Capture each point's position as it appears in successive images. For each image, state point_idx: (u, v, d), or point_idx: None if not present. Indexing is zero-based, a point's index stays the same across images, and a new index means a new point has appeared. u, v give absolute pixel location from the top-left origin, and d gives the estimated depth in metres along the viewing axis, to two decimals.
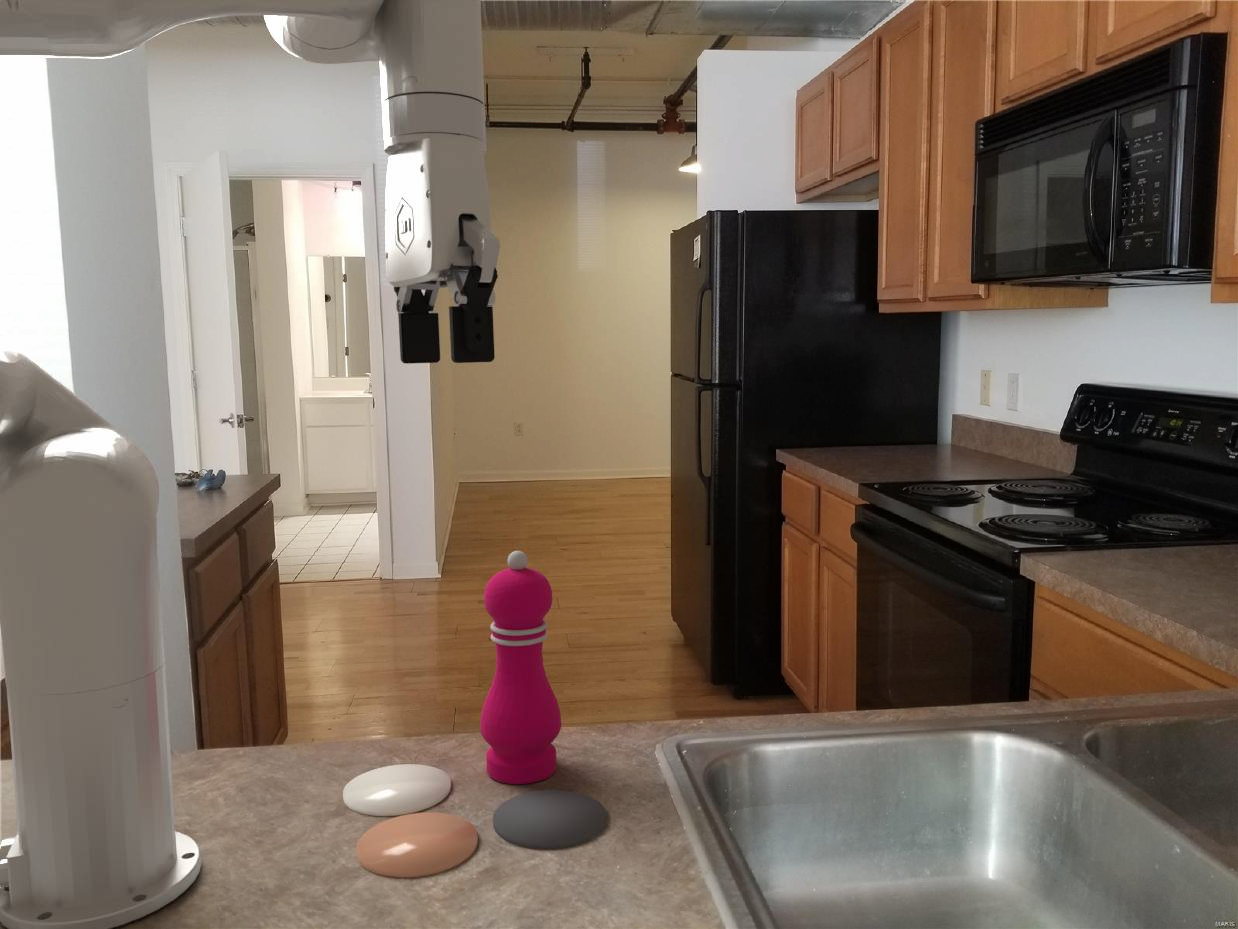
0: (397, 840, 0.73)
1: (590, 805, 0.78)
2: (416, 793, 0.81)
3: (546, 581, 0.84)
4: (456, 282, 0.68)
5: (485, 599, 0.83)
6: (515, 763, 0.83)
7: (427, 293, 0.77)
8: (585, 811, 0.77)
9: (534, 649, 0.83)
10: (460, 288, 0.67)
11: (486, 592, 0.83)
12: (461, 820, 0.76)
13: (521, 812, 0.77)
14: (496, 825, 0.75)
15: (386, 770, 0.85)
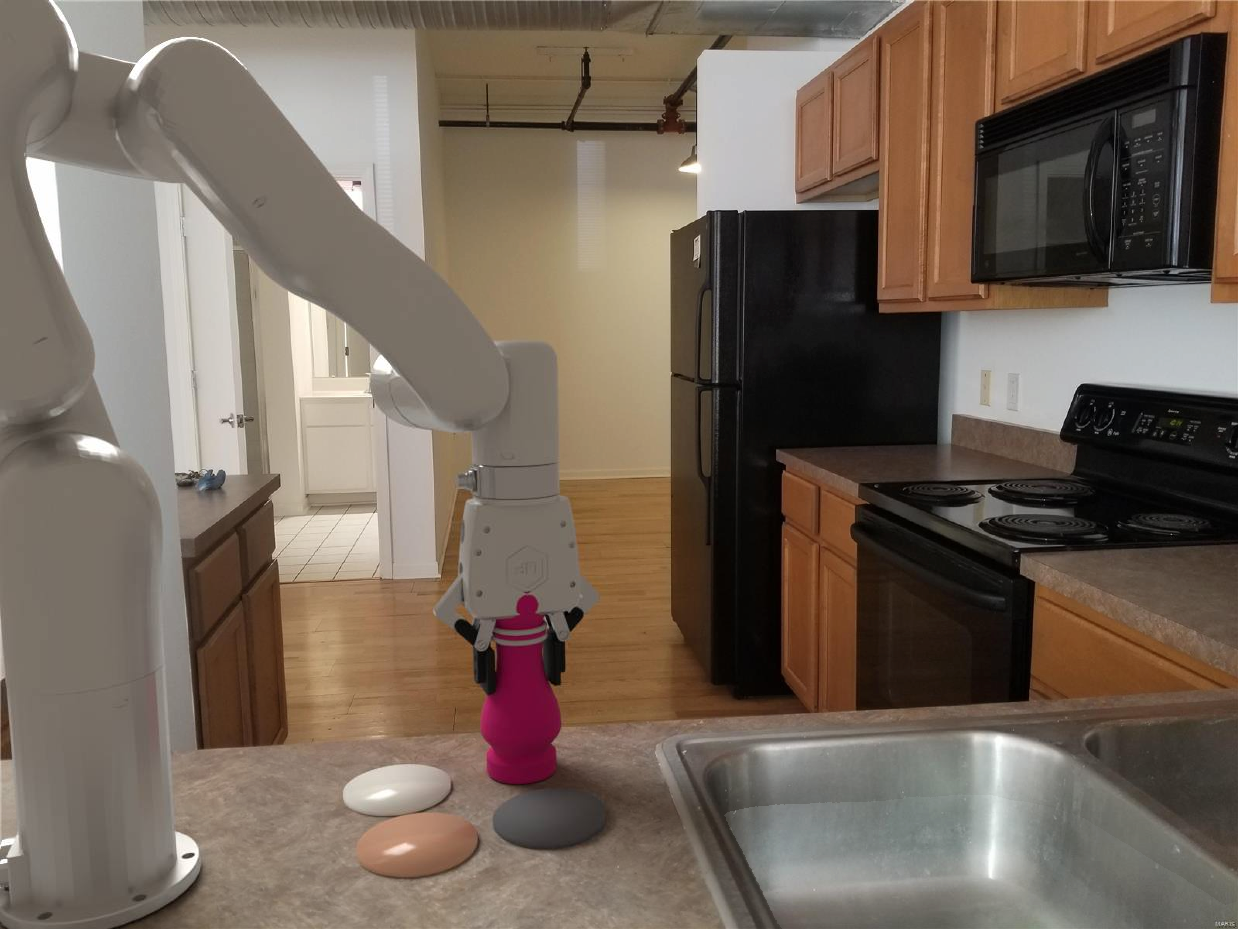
0: (397, 840, 0.73)
1: (581, 796, 0.79)
2: (416, 793, 0.81)
3: None
4: (566, 623, 0.85)
5: None
6: (515, 763, 0.83)
7: (479, 624, 0.84)
8: (581, 803, 0.78)
9: (534, 649, 0.83)
10: (568, 628, 0.85)
11: None
12: (461, 820, 0.76)
13: (520, 816, 0.76)
14: (504, 832, 0.74)
15: (386, 770, 0.85)
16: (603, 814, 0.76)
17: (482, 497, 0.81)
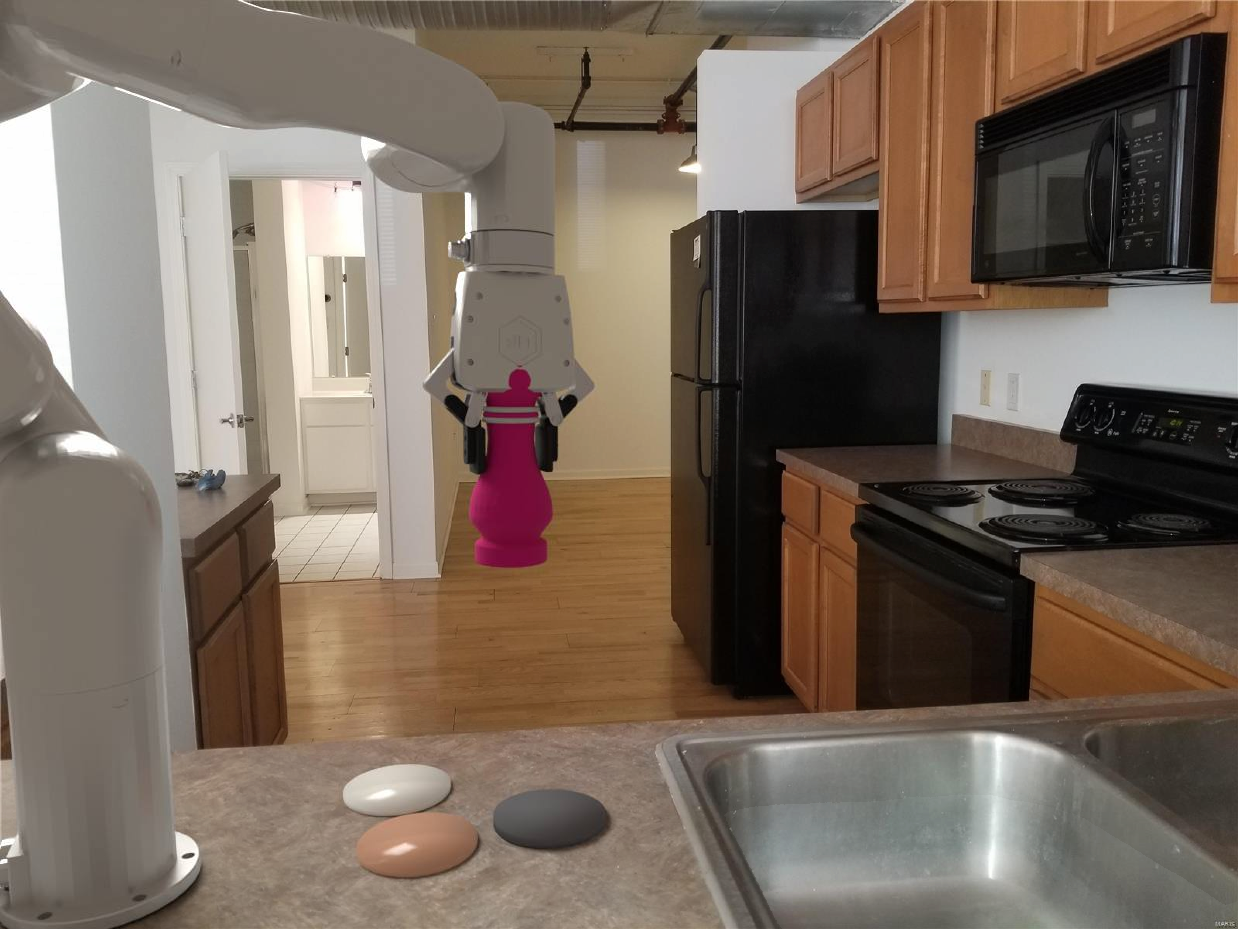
0: (397, 840, 0.73)
1: (572, 796, 0.80)
2: (416, 793, 0.81)
3: None
4: (560, 407, 0.83)
5: None
6: (504, 546, 0.81)
7: None
8: (576, 801, 0.79)
9: (526, 429, 0.81)
10: (561, 413, 0.83)
11: None
12: (461, 820, 0.76)
13: (522, 817, 0.76)
14: (516, 833, 0.73)
15: (386, 770, 0.85)
16: (604, 810, 0.77)
17: (475, 264, 0.78)
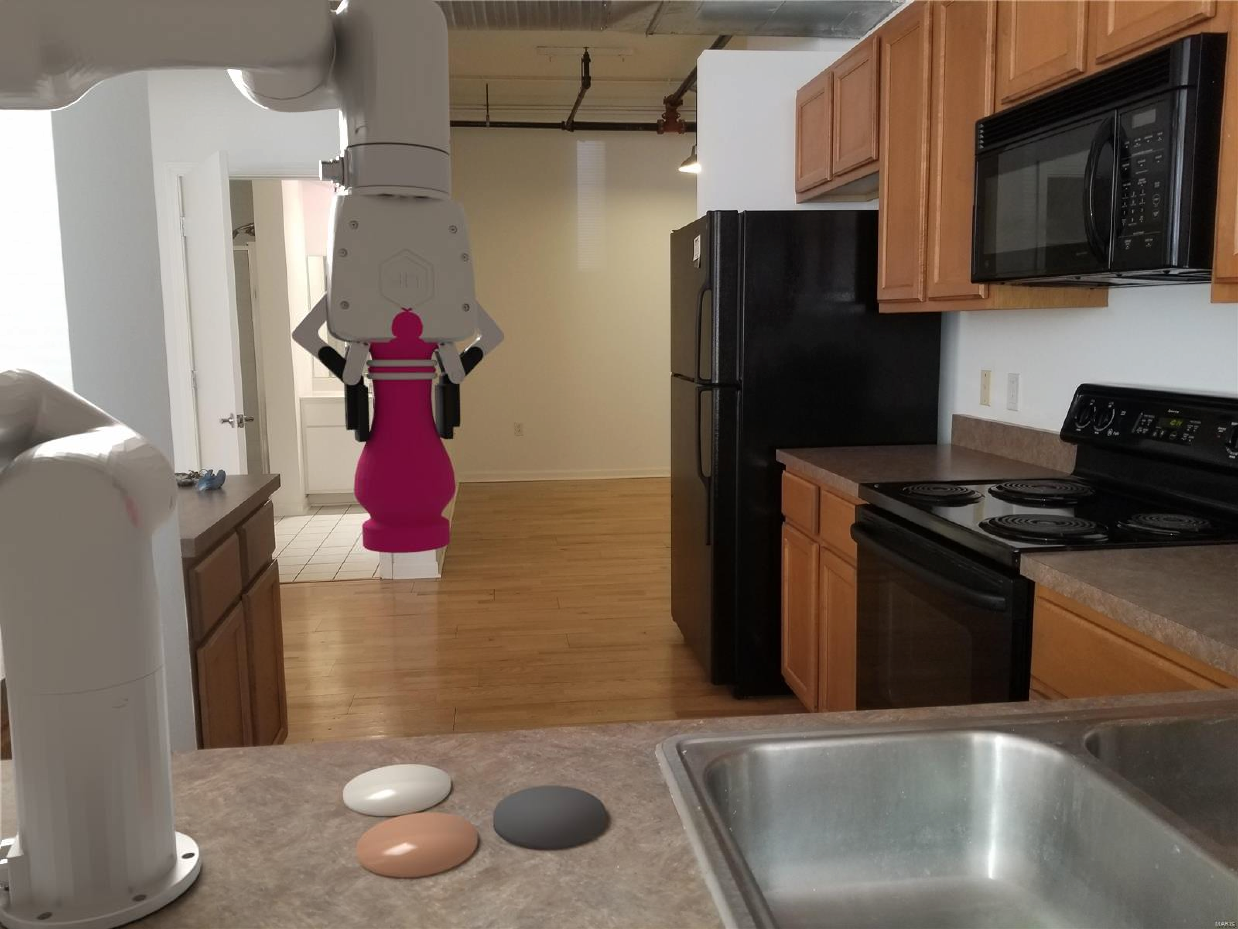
0: (397, 840, 0.73)
1: (562, 791, 0.80)
2: (416, 793, 0.81)
3: None
4: (461, 361, 0.69)
5: None
6: (393, 527, 0.67)
7: None
8: (569, 797, 0.79)
9: (419, 387, 0.68)
10: (462, 368, 0.69)
11: None
12: (461, 820, 0.76)
13: (526, 822, 0.75)
14: (529, 840, 0.72)
15: (386, 770, 0.85)
16: (601, 803, 0.78)
17: (350, 187, 0.65)
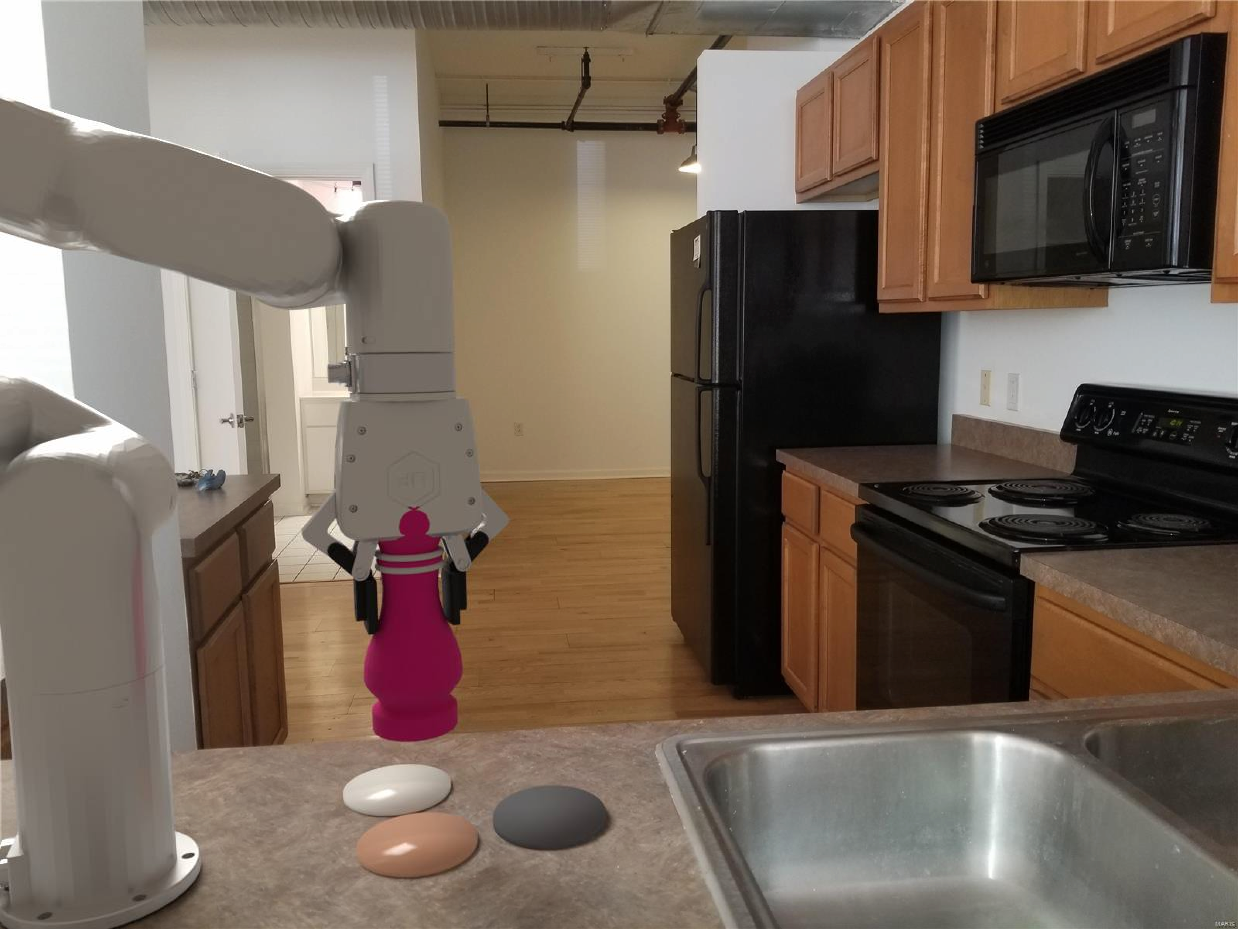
0: (397, 840, 0.73)
1: (547, 790, 0.80)
2: (416, 793, 0.81)
3: None
4: (467, 549, 0.71)
5: None
6: (403, 716, 0.69)
7: None
8: (557, 795, 0.79)
9: (426, 579, 0.69)
10: (469, 556, 0.71)
11: None
12: (461, 820, 0.76)
13: (533, 826, 0.75)
14: (549, 842, 0.72)
15: (386, 770, 0.85)
16: (591, 794, 0.79)
17: (357, 392, 0.66)
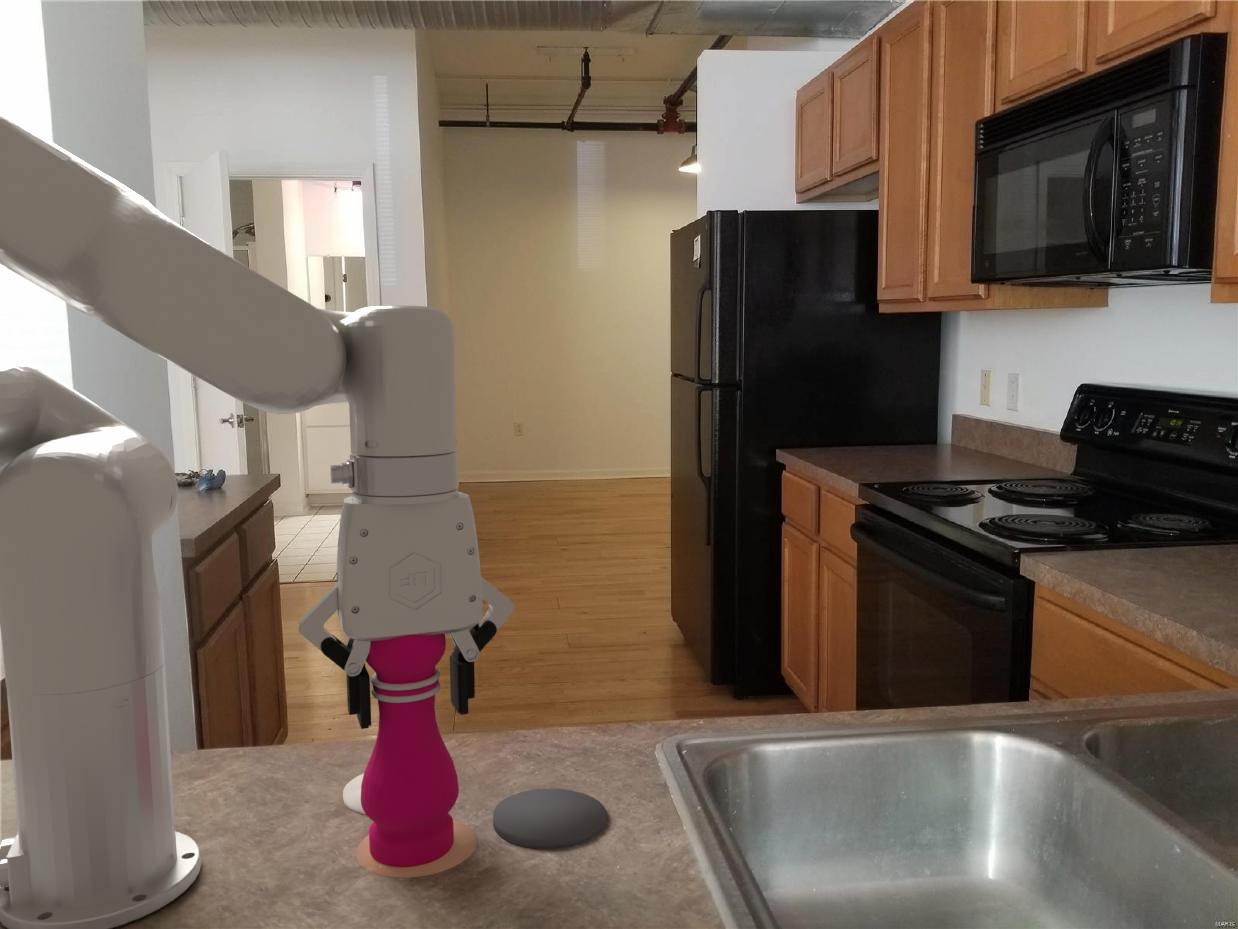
0: None
1: (535, 794, 0.80)
2: None
3: None
4: (473, 640, 0.71)
5: None
6: (399, 842, 0.70)
7: None
8: (547, 796, 0.79)
9: (422, 705, 0.70)
10: (476, 645, 0.72)
11: None
12: (461, 825, 0.76)
13: (541, 825, 0.74)
14: (567, 837, 0.72)
15: None
16: (580, 793, 0.80)
17: (360, 494, 0.67)
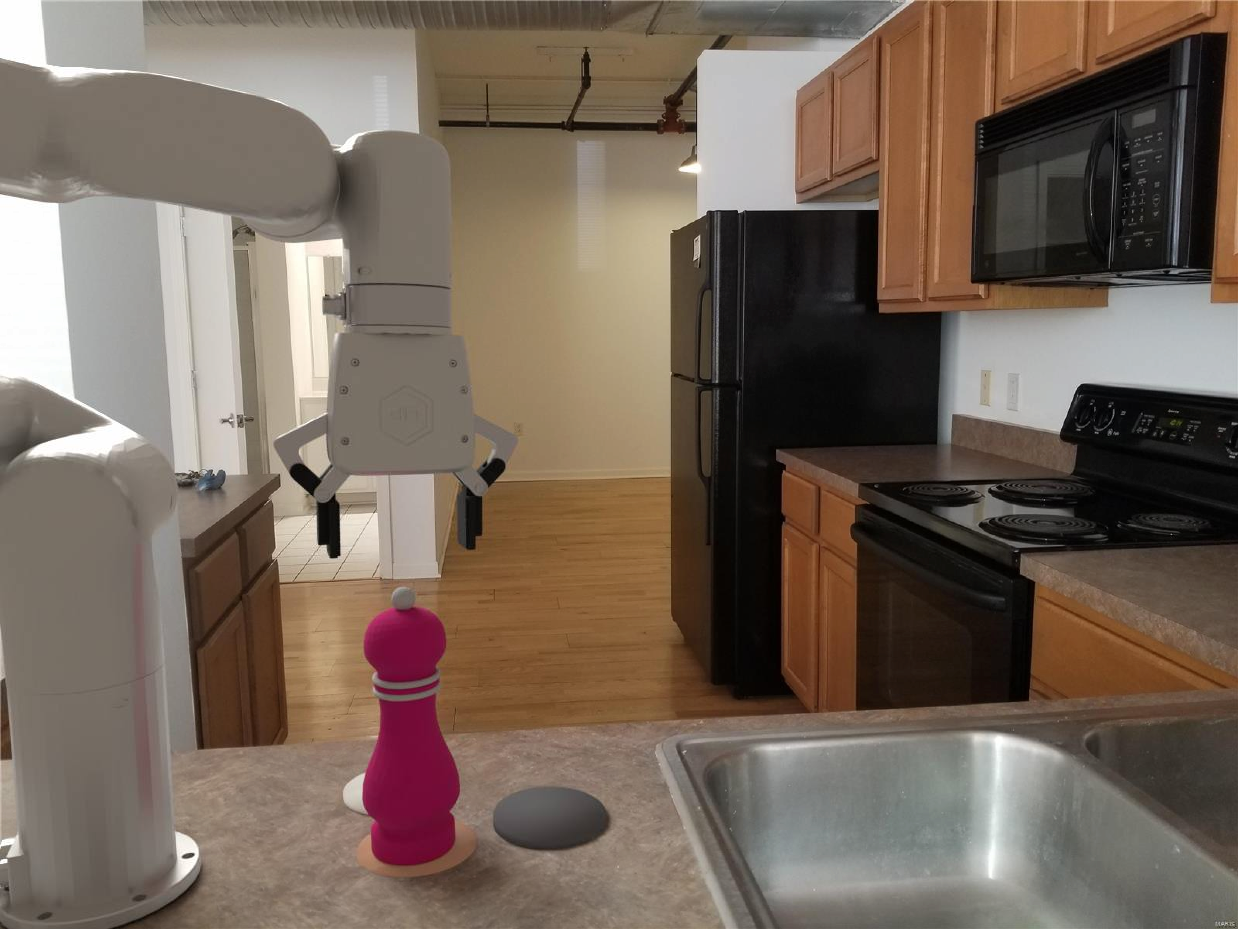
0: None
1: (525, 795, 0.79)
2: None
3: (438, 622, 0.71)
4: (478, 474, 0.70)
5: (364, 645, 0.70)
6: (401, 840, 0.70)
7: None
8: (539, 796, 0.79)
9: (424, 704, 0.70)
10: (482, 479, 0.71)
11: (365, 637, 0.70)
12: (461, 824, 0.76)
13: (548, 827, 0.74)
14: (579, 837, 0.73)
15: None
16: (568, 788, 0.81)
17: (352, 324, 0.66)
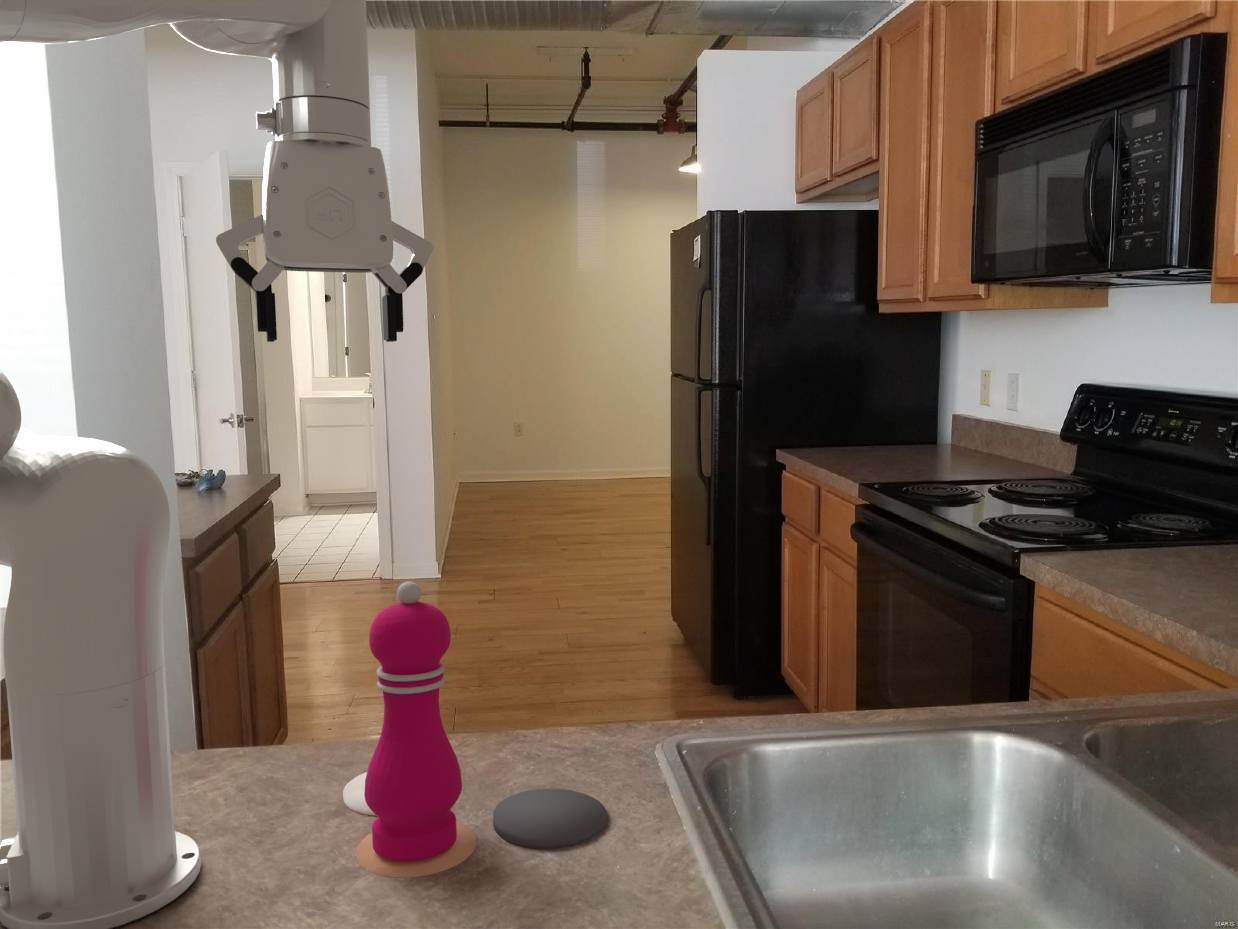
0: None
1: (512, 802, 0.78)
2: None
3: (443, 616, 0.72)
4: None
5: (370, 639, 0.71)
6: (404, 835, 0.70)
7: None
8: (525, 800, 0.79)
9: (428, 697, 0.71)
10: (402, 279, 0.81)
11: (371, 630, 0.71)
12: (461, 825, 0.76)
13: (561, 824, 0.75)
14: (597, 826, 0.74)
15: None
16: (546, 789, 0.81)
17: (281, 134, 0.76)
